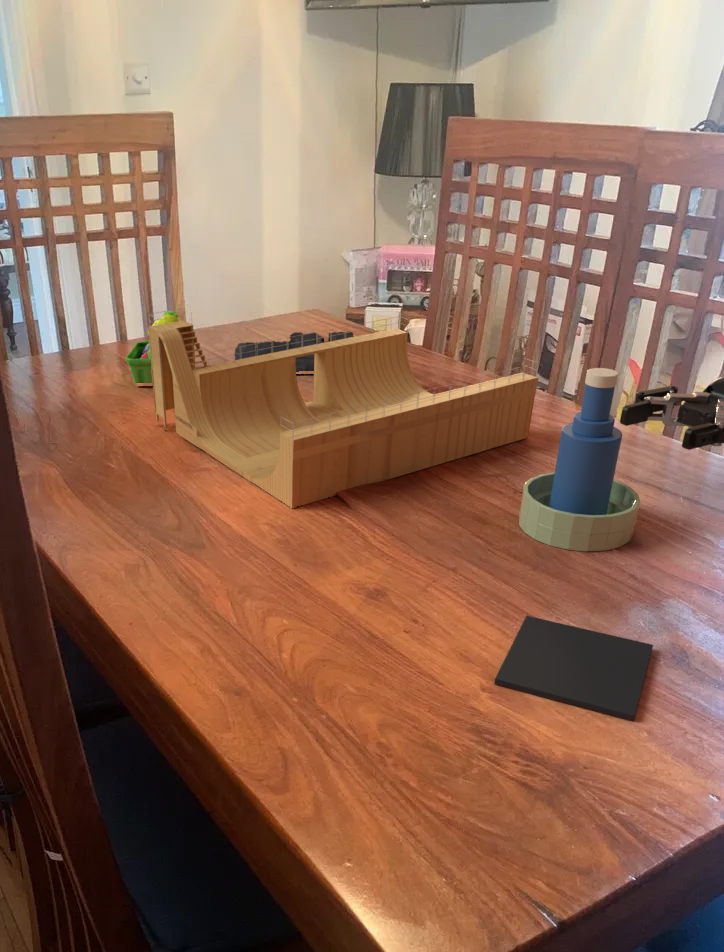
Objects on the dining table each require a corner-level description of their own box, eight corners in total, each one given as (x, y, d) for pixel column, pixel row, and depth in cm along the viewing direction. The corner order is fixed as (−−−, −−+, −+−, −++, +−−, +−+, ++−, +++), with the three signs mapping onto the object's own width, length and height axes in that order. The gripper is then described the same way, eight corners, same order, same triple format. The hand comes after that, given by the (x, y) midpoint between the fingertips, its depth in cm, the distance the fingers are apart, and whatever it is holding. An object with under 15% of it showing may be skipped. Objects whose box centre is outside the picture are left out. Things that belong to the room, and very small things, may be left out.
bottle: (578, 510, 99) (605, 361, 90) (615, 532, 94) (647, 376, 85) (535, 520, 97) (559, 368, 88) (570, 542, 92) (599, 384, 83)
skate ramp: (291, 516, 102) (293, 383, 93) (155, 425, 127) (146, 313, 118) (527, 444, 121) (546, 328, 112) (368, 377, 146) (374, 277, 137)
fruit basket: (139, 370, 152) (133, 304, 146) (189, 370, 152) (185, 303, 146) (127, 390, 142) (120, 319, 136) (181, 389, 142) (176, 319, 136)
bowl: (581, 500, 102) (587, 465, 100) (655, 542, 93) (664, 504, 91) (496, 518, 99) (501, 482, 96) (565, 564, 89) (572, 525, 87)
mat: (525, 620, 80) (526, 615, 80) (651, 650, 75) (653, 644, 75) (493, 684, 72) (494, 678, 71) (633, 721, 67) (635, 715, 67)
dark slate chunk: (233, 353, 160) (232, 327, 158) (351, 350, 161) (352, 324, 159) (235, 377, 147) (234, 349, 145) (363, 373, 148) (364, 345, 146)
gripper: (800, 453, 97) (699, 482, 90) (694, 416, 108) (598, 439, 101) (821, 387, 93) (717, 412, 87) (709, 356, 104) (610, 376, 97)
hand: (653, 427), depth 94 cm, fingers open, 8 cm apart
